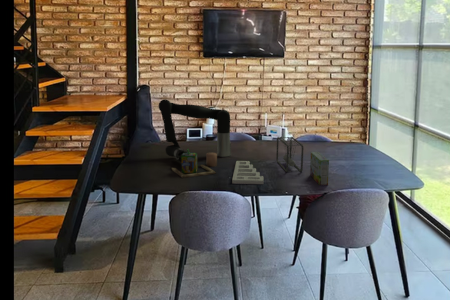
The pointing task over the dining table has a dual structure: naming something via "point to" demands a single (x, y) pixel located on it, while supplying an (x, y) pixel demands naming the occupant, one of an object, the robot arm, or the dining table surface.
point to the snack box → (319, 168)
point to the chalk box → (189, 162)
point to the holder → (246, 174)
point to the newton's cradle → (287, 157)
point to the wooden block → (211, 159)
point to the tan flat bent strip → (195, 173)
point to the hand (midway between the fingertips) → (190, 160)
